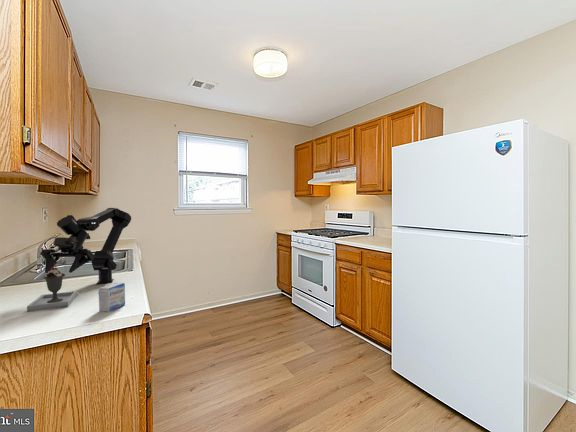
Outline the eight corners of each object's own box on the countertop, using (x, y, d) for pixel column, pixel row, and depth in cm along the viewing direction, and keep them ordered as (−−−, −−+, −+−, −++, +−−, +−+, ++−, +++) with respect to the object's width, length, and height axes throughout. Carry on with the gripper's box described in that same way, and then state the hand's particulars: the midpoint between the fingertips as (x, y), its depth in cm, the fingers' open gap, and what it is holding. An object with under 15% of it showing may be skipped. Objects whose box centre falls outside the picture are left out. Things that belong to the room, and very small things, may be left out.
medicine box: (109, 312, 103) (108, 288, 102) (98, 311, 104) (98, 287, 103) (125, 304, 111) (125, 282, 110) (115, 304, 111) (115, 282, 111)
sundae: (59, 297, 117) (57, 261, 116) (69, 299, 114) (68, 262, 114) (40, 302, 111) (38, 264, 110) (50, 304, 108) (49, 265, 108)
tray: (41, 299, 117) (41, 294, 117) (77, 295, 122) (77, 290, 122) (27, 311, 103) (26, 306, 103) (68, 306, 108) (67, 301, 108)
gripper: (42, 229, 118) (20, 261, 108) (89, 229, 119) (71, 261, 109) (57, 245, 127) (38, 276, 116) (100, 245, 128) (85, 276, 117)
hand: (57, 272), depth 114 cm, fingers open, 9 cm apart
